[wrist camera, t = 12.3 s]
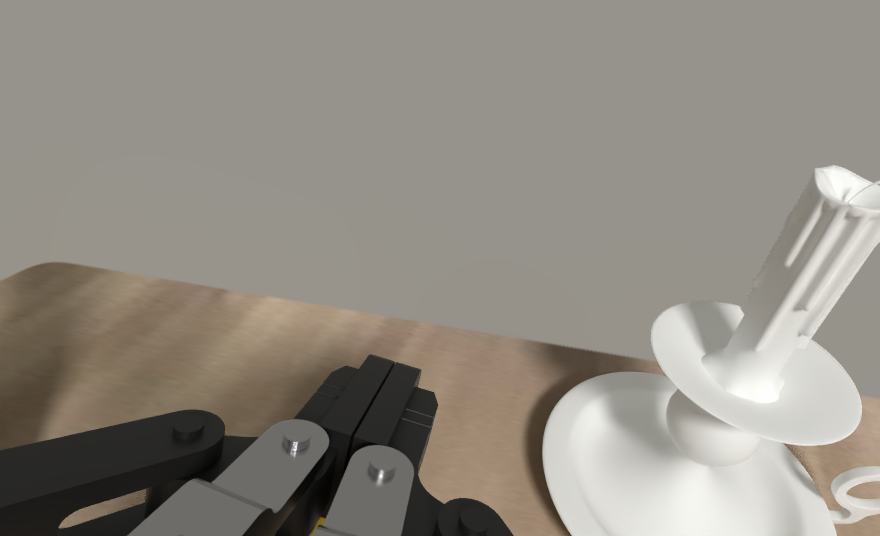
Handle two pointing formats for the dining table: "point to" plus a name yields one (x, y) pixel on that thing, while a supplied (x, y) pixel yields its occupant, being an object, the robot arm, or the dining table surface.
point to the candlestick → (728, 399)
